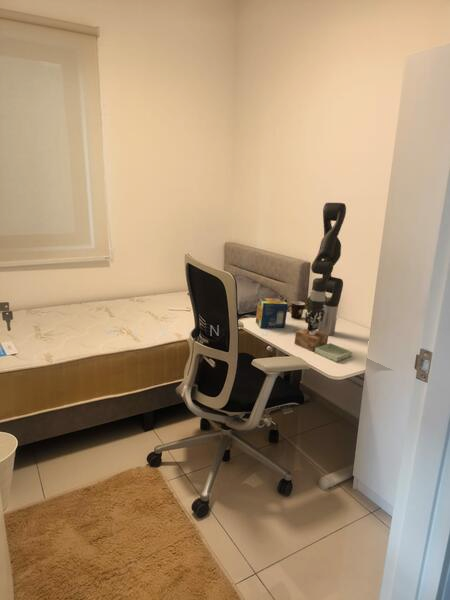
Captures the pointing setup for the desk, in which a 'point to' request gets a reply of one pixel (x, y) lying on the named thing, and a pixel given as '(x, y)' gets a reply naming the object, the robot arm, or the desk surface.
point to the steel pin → (314, 328)
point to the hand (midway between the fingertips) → (312, 329)
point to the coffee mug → (296, 309)
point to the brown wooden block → (310, 339)
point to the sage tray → (333, 352)
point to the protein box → (271, 313)
